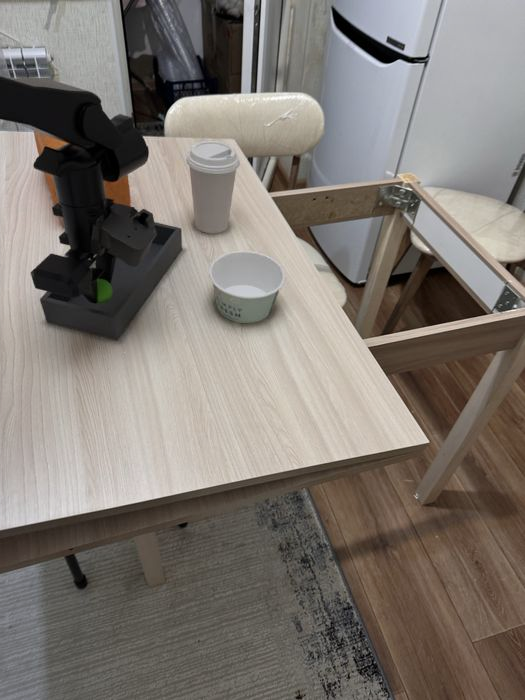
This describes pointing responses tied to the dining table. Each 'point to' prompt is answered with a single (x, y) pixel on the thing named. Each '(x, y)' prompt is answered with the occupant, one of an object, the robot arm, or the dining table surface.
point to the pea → (104, 290)
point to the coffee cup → (212, 184)
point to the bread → (113, 189)
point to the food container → (246, 285)
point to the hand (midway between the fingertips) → (100, 294)
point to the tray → (117, 291)
